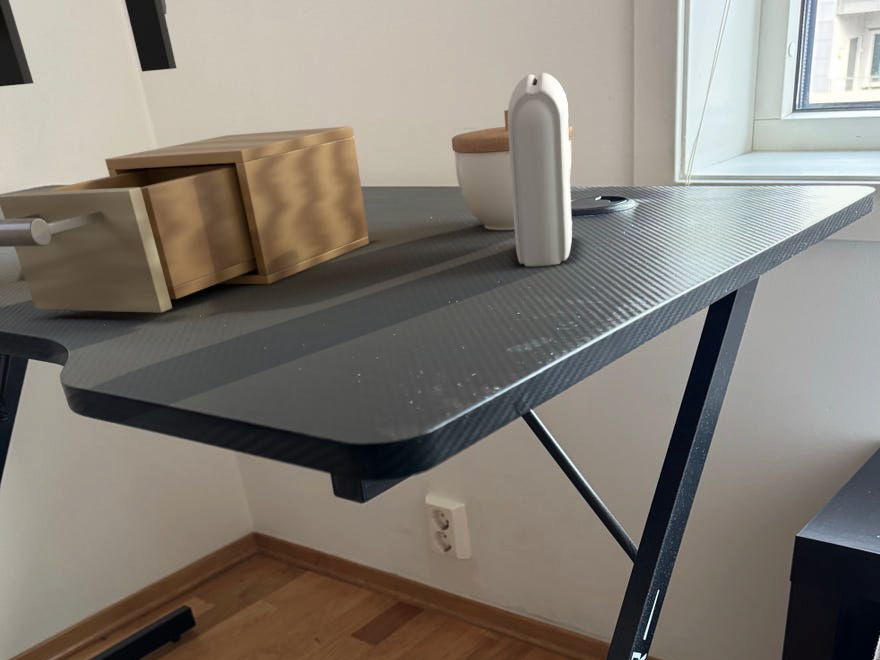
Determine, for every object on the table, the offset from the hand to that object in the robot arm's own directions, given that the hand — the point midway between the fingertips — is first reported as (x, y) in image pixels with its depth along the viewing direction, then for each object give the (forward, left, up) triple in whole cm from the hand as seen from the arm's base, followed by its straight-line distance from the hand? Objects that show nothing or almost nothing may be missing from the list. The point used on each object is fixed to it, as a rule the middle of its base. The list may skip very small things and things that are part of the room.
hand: (92, 77), depth 64 cm
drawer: (0, -2, -14) cm, 14 cm away
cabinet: (0, +13, -15) cm, 20 cm away
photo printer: (+26, +16, -15) cm, 34 cm away
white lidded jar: (+18, +29, -15) cm, 38 cm away
